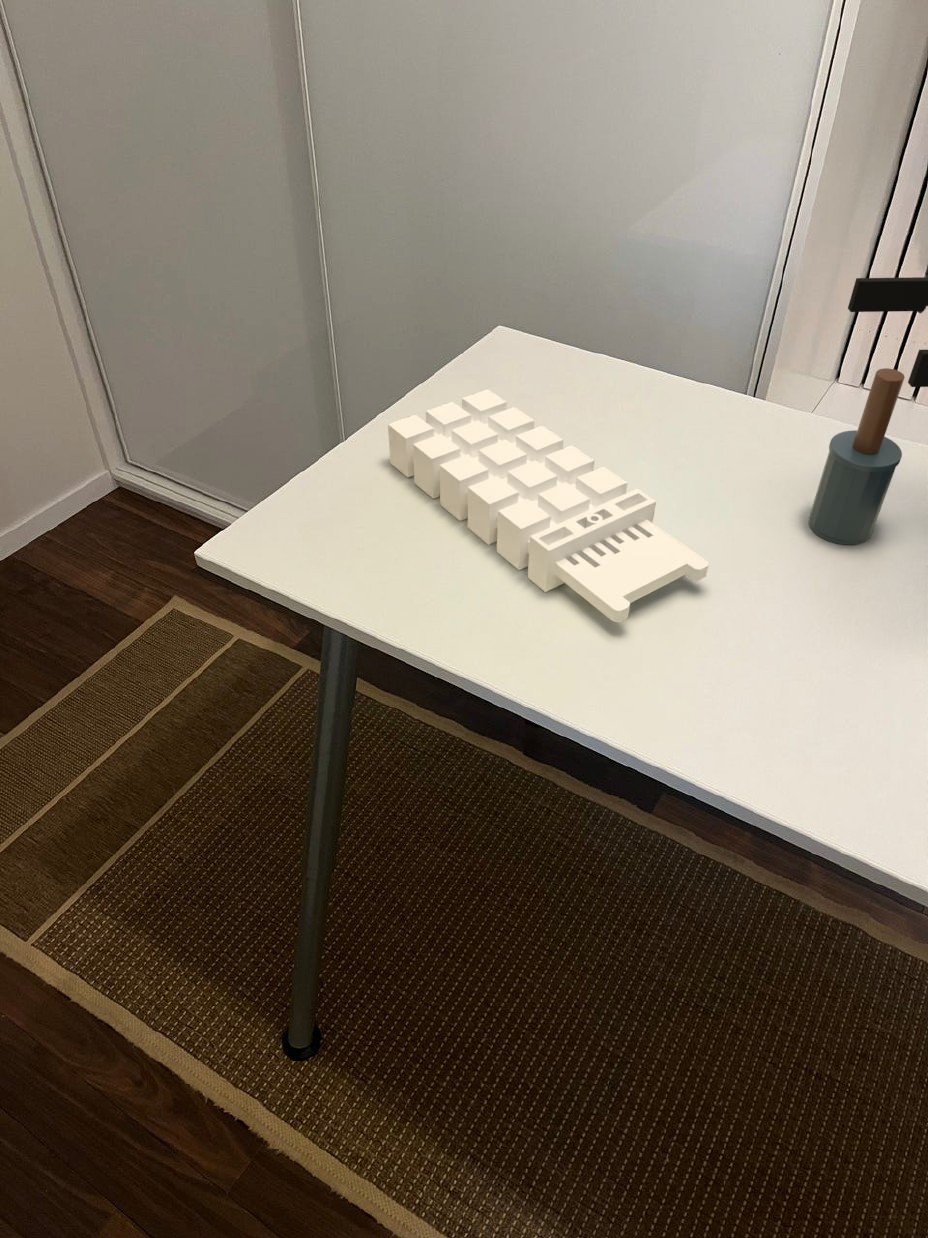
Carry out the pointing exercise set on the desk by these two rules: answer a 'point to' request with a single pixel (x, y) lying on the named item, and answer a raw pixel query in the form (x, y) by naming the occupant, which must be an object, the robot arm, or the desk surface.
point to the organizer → (541, 502)
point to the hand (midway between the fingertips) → (881, 329)
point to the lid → (872, 429)
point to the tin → (848, 502)
